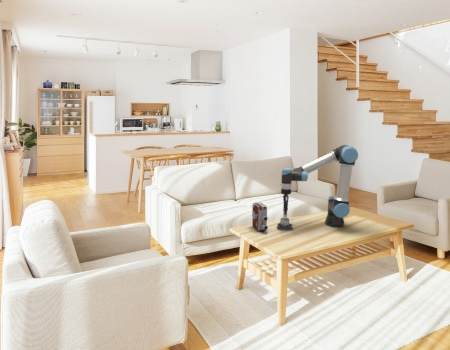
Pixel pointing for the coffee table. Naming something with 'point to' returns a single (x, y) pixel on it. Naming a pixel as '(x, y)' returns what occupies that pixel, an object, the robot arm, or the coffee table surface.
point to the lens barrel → (283, 228)
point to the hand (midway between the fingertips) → (285, 218)
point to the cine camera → (259, 217)
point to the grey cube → (284, 222)
